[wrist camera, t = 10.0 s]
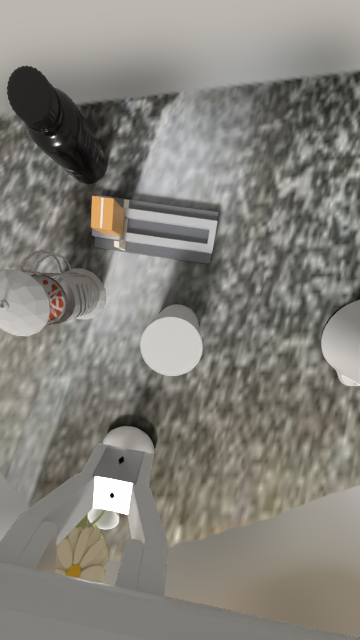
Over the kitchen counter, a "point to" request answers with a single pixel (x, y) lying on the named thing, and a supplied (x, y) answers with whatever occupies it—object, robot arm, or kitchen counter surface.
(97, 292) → the french press
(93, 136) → the supplement bottle
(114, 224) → the fader
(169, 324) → the light grey cylinder
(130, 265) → the kitchen counter surface
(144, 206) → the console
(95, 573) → the flower in vase
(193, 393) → the kitchen counter surface
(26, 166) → the kitchen counter surface
